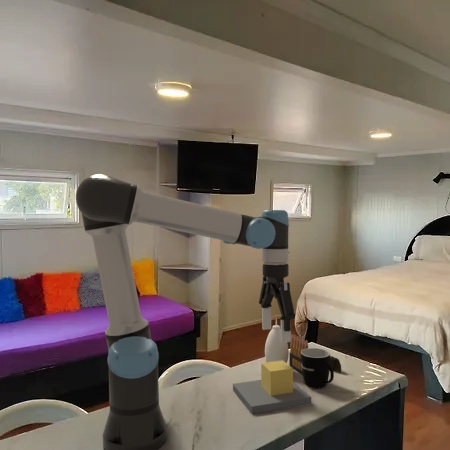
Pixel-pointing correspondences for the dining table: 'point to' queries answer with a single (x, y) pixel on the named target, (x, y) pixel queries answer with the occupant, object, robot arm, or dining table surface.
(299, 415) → the dining table surface
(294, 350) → the ammunition clip
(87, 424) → the dining table surface
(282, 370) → the mustard yellow cube
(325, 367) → the mug
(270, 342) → the air blower bulb
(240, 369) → the dining table surface
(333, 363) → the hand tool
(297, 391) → the board
